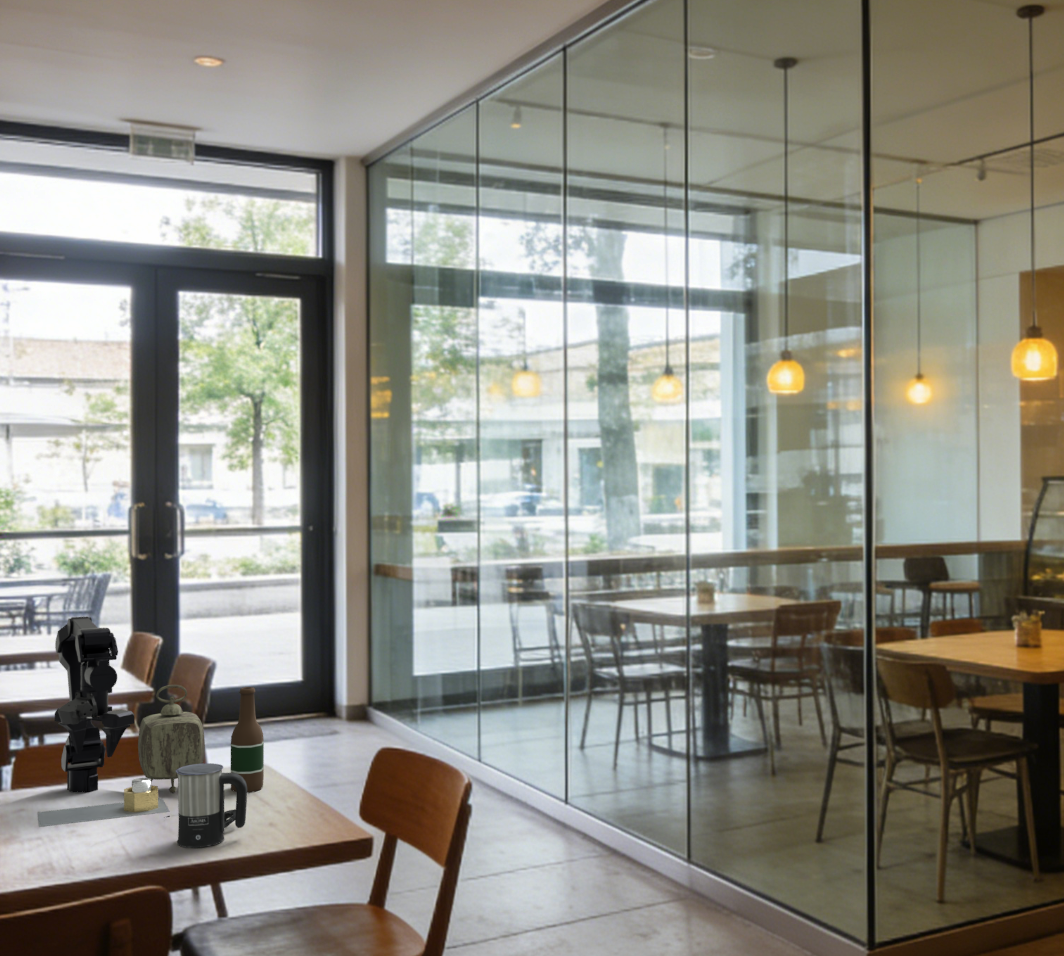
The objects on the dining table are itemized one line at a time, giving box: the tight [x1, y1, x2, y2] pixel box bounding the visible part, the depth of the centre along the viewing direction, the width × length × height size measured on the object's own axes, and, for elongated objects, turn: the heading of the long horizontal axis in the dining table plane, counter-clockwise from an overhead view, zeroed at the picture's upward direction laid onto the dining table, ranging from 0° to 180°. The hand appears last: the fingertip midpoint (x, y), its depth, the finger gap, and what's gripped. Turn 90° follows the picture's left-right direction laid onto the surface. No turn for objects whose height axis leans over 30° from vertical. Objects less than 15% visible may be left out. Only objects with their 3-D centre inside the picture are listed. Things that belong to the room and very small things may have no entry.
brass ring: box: [123, 784, 159, 812], centre depth 247 cm, size 7×7×4 cm
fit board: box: [37, 777, 171, 828], centre depth 244 cm, size 26×12×7 cm, turn 115°
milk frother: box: [176, 762, 248, 849], centre depth 230 cm, size 14×16×15 cm
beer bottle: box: [230, 686, 265, 793], centre depth 267 cm, size 8×8×24 cm
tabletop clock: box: [137, 684, 206, 794], centre depth 265 cm, size 14×9×25 cm, turn 114°
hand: (94, 754), depth 250 cm, fingers open, 9 cm apart
